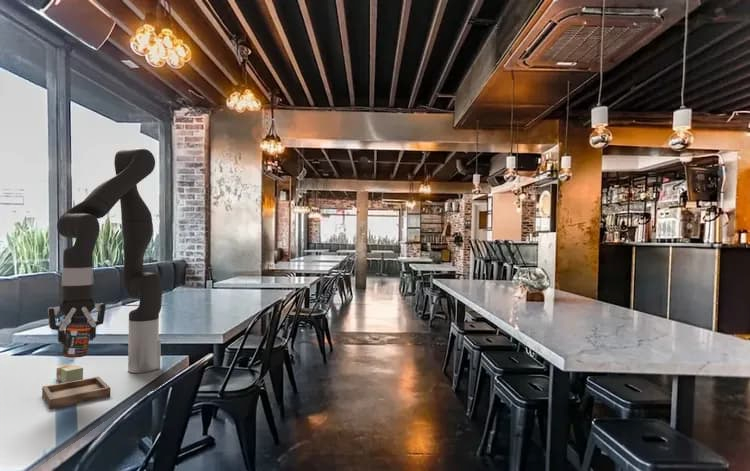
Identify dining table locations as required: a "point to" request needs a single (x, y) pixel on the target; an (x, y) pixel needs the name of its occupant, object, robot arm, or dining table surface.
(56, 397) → the walnut tray
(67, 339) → the supplement bottle
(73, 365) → the beech block
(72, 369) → the olive block
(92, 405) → the dining table surface
